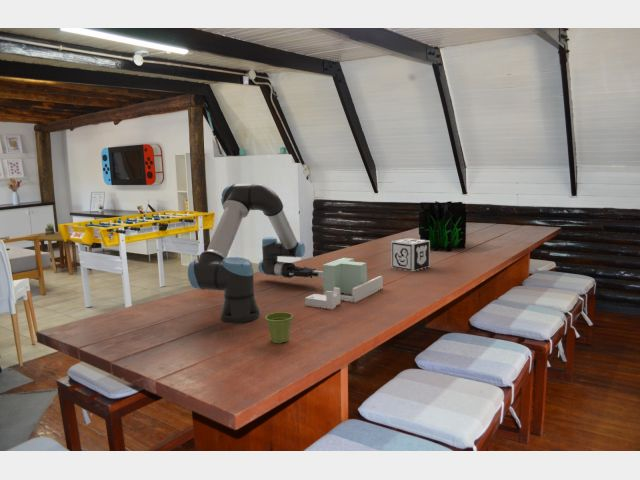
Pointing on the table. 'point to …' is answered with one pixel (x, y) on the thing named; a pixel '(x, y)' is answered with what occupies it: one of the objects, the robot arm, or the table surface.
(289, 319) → the plant pot
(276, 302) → the table surface
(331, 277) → the t block
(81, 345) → the table surface
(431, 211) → the decorative plant
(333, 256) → the table surface
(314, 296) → the bracket
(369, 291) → the white u channel
